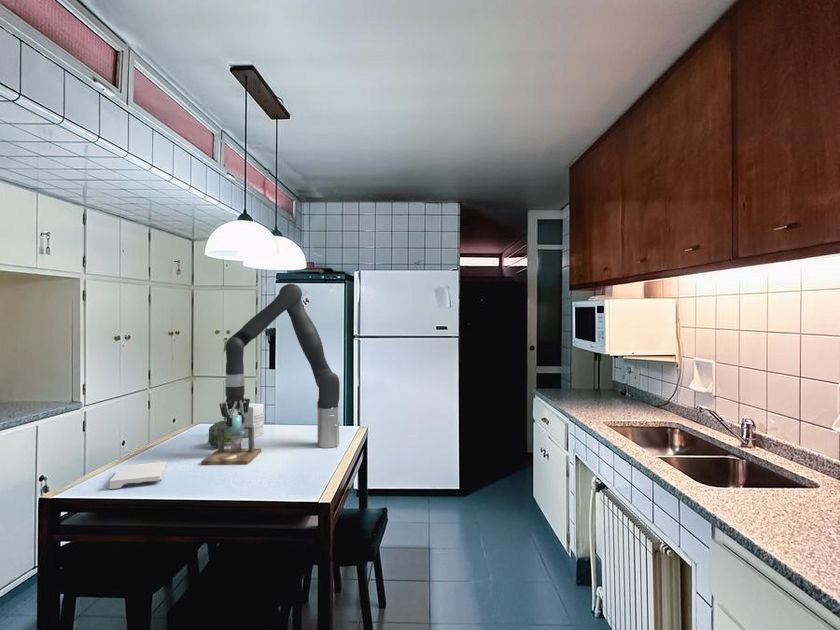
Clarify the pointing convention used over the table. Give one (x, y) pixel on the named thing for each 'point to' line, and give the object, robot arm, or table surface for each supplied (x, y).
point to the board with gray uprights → (233, 450)
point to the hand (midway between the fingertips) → (235, 425)
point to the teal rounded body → (236, 425)
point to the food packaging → (138, 474)
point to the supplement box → (254, 419)
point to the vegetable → (214, 434)
